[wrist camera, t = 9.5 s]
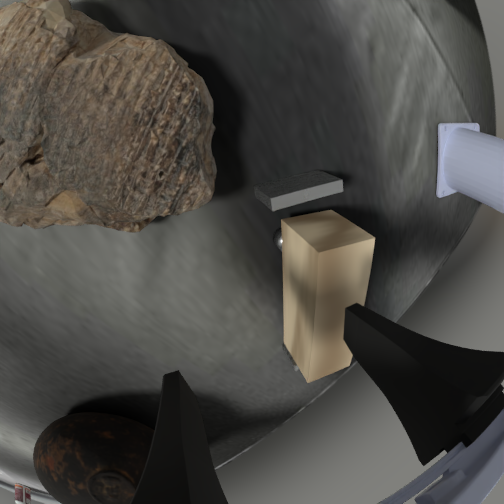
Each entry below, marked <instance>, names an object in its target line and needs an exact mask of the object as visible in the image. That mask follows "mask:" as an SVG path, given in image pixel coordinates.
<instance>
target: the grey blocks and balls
mask: <svg viewBox="0 0 504 504" xmlns="http://www.w3.org/2000/svg"><path fill="white" fill-rule="evenodd" d="M254 190H255V195H256V198H258V199H259V200H260V201H261V202H262V203H264V204H265V205H266V206H267V207H268V208H269V209H271V210H272V211H275V210H279V209H282V208H285V207H289V206H292V205H296V204H299V203H303V202H306V201H310V200H313V199H317V198H321V197H324V196H328V195H332V194H335V193H339V192H343V180H342V179H340V178H337V177H335V176H333V175H330V174H328V173H325V172H323V171H320V170H316V171H311V172H307V173H303V174H299V175H295V176H290V177H286V178H282V179H278V180H275V181H271V182H267V183H263V184H259V185H256V186H254ZM273 241H274V243H275V245H276V246H277V247H278V248H279V249H280V250H281V251H282V227H281V228H279V229H277V230H276V232H275V233H274V235H273ZM282 348H283V351H284V353H285V354H286V356H287V358H288V360H289V361H290V363H291V365H292V367H293V368H294V370H295V371H296V370H299V367H298V366H297V364H296V362H295V361H294V359H293V357H292V356H291V354H290V352H289V350H288V349H287V347H286V345H285V344H283V345H282Z"/></svg>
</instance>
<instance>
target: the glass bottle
mask: <svg viewBox="0 0 504 504" xmlns="http://www.w3.org/2000/svg"><path fill="white" fill-rule="evenodd" d="M153 435H154V430H153V429H151V428H149V427H147V426H146V425H144V424H141V423H139V422H137V421H135V420H132V419H129V418H126V417H123V416H119V415H113V414H108V413H98V412H82V413H75V414H70V415H67V416H64V417H62V418H60V419H58V420H56V421H54V422H53V423H51V424H50V425H49V426H48V427H47V428H46V429H45V430H44V431H43V432H42V433H41V435H40V436H39V438H38V440H37V442H36V444H35V448H34V453H33V460H34V467H35V470H36V473H37V476H38V478H39V480H40V482H41V483H42V485H43V486H44V488H45V489H46V490H47V491H48V492H49V494H50V495H52V496H53V497H54V498H55V499H56V500H57V501H59V502H60V503H62V504H130V502H131V500H132V498H133V496H134V494H135V491H136V489H137V487H138V484H139V482H140V479H141V476H142V474H143V471H144V468H145V465H146V462H147V458H148V455H149V452H150V448H151V444H152V440H153Z"/></svg>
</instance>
